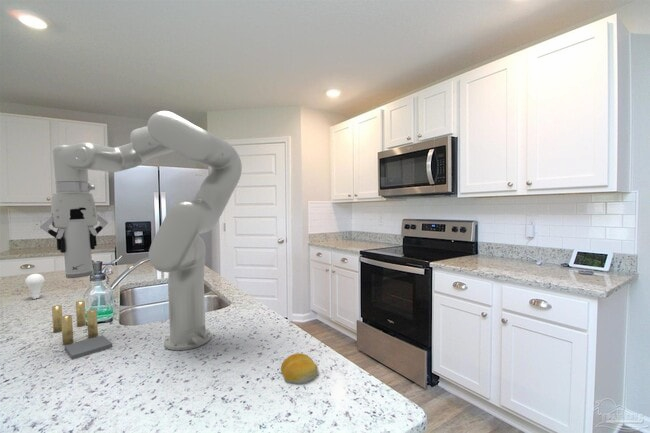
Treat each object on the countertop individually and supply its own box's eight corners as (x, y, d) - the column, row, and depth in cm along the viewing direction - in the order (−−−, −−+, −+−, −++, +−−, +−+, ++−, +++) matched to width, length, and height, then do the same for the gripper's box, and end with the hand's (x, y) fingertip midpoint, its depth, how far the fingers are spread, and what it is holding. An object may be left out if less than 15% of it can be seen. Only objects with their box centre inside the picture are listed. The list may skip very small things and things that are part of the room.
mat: (112, 347, 88) (112, 343, 88) (72, 359, 82) (71, 355, 82) (102, 338, 94) (102, 335, 94) (64, 349, 88) (64, 345, 88)
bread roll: (287, 389, 68) (287, 371, 67) (278, 369, 76) (278, 352, 76) (323, 380, 70) (323, 363, 70) (311, 362, 79) (310, 346, 79)
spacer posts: (99, 336, 96) (97, 310, 96) (63, 346, 90) (62, 318, 89) (84, 323, 107) (83, 300, 106) (52, 331, 100) (51, 306, 100)
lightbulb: (36, 301, 133) (34, 275, 132) (22, 301, 133) (20, 275, 132) (49, 296, 139) (47, 272, 138) (35, 297, 139) (34, 272, 138)
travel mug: (78, 278, 89) (73, 207, 88) (60, 278, 90) (54, 208, 89) (99, 273, 95) (94, 207, 94) (81, 273, 96) (76, 208, 95)
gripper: (104, 189, 100) (109, 245, 101) (30, 189, 87) (36, 254, 88) (111, 188, 95) (115, 247, 96) (34, 188, 82) (40, 256, 83)
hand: (77, 250), depth 92 cm, fingers closed on travel mug, 6 cm apart
